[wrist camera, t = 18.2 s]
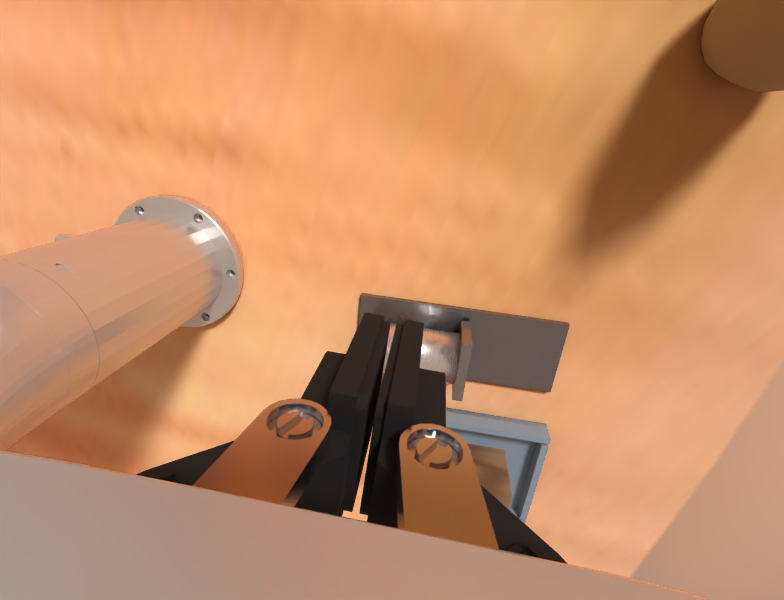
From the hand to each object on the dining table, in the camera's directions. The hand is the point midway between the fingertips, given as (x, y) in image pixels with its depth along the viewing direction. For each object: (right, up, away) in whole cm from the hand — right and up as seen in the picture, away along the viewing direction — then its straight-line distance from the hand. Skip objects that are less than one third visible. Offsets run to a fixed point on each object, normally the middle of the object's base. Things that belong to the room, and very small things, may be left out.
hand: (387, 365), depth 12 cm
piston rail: (+6, -2, +27) cm, 28 cm away
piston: (+2, -2, +28) cm, 28 cm away
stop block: (+9, -15, +31) cm, 36 cm away
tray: (+9, -15, +32) cm, 36 cm away
